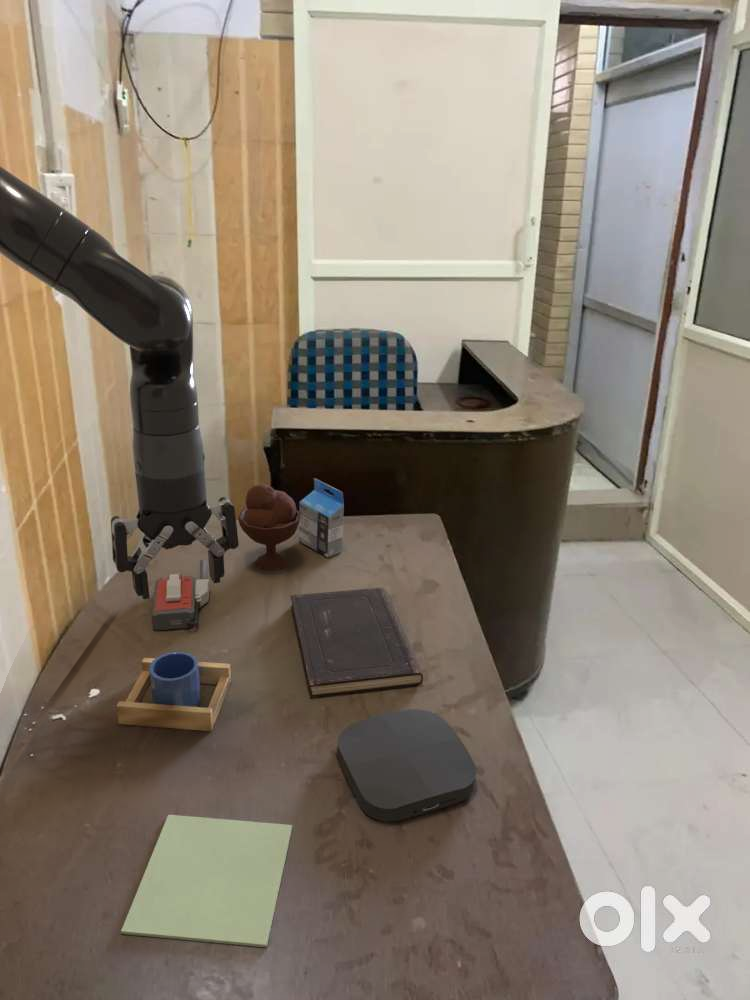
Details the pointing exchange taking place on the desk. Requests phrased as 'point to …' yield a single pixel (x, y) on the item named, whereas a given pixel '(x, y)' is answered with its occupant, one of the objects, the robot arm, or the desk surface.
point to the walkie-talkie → (179, 600)
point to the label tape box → (322, 520)
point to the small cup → (175, 679)
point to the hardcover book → (352, 643)
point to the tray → (173, 714)
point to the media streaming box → (405, 764)
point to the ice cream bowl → (269, 522)
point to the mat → (211, 881)
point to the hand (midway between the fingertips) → (180, 588)
